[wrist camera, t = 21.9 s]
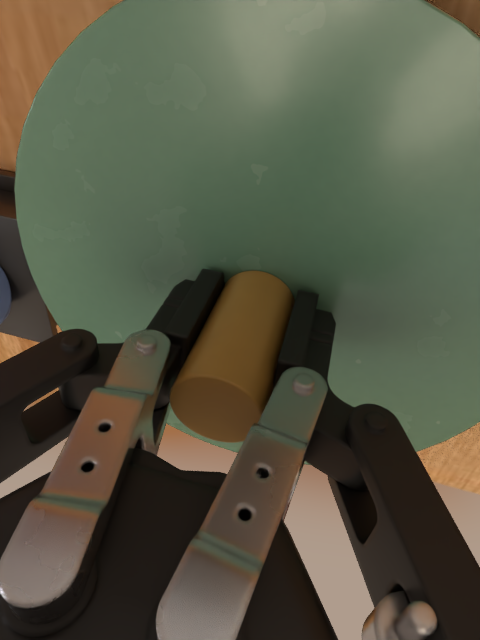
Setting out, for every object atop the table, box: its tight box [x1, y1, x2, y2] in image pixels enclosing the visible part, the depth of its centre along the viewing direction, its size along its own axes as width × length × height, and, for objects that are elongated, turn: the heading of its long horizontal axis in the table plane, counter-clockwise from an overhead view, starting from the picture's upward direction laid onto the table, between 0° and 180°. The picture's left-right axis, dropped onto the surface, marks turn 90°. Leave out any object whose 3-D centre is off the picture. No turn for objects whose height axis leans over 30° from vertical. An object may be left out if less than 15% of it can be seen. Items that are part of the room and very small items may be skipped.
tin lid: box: [14, 0, 480, 465], centre depth 14 cm, size 18×18×6 cm
